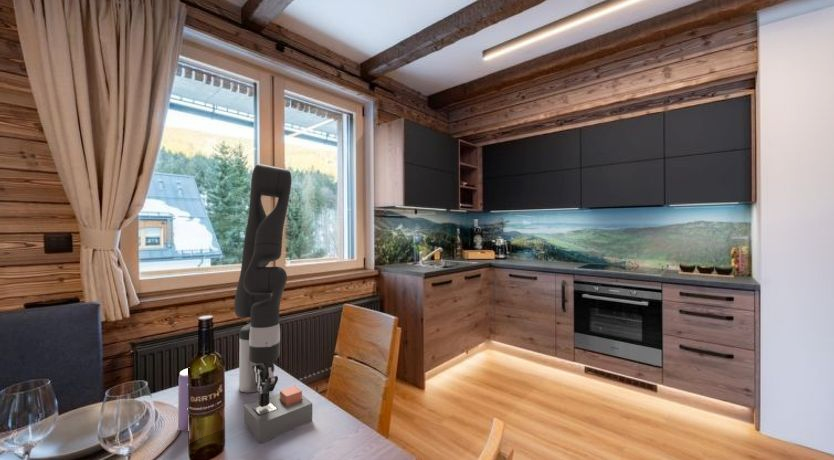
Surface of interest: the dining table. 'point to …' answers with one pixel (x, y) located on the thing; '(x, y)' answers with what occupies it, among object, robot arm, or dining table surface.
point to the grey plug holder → (277, 418)
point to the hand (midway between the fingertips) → (264, 405)
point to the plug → (265, 409)
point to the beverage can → (183, 401)
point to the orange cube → (290, 395)
